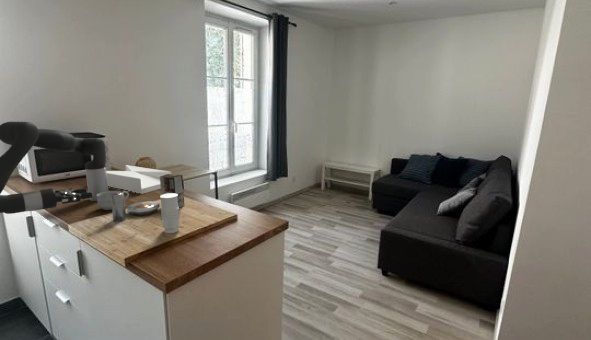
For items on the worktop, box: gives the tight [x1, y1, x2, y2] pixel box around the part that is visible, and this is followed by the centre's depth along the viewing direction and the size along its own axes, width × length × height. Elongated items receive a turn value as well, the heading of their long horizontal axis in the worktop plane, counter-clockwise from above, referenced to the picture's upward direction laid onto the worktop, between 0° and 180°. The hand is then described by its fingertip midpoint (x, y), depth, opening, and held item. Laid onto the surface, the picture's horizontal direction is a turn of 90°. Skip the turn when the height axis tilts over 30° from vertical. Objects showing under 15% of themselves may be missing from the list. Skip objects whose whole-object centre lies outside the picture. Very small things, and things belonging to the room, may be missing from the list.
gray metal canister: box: [110, 191, 127, 223], centre depth 139 cm, size 5×5×12 cm
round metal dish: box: [126, 200, 161, 217], centre depth 150 cm, size 14×14×3 cm
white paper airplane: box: [106, 164, 173, 195], centre depth 199 cm, size 45×22×10 cm, turn 63°
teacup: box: [96, 190, 130, 211], centre depth 155 cm, size 14×11×8 cm
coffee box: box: [160, 173, 185, 208], centre depth 158 cm, size 9×6×16 cm
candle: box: [159, 193, 181, 234], centre depth 128 cm, size 7×7×15 cm
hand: (89, 192), depth 130 cm, fingers open, 8 cm apart
